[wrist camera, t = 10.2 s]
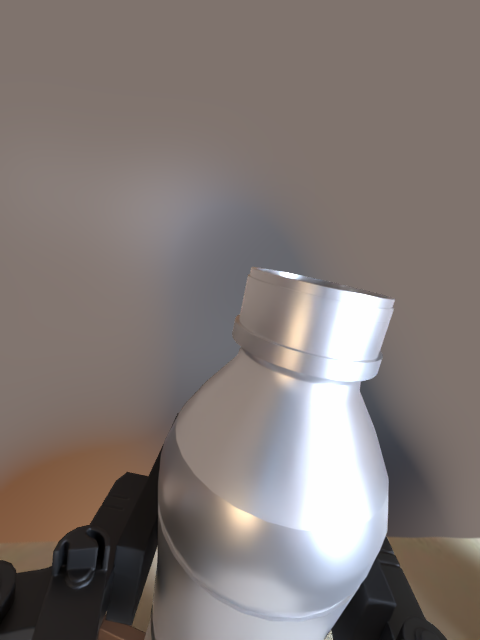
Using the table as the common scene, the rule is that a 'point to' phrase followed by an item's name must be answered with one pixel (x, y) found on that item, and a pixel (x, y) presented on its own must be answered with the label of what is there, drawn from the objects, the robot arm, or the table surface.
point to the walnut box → (118, 631)
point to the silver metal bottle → (275, 471)
